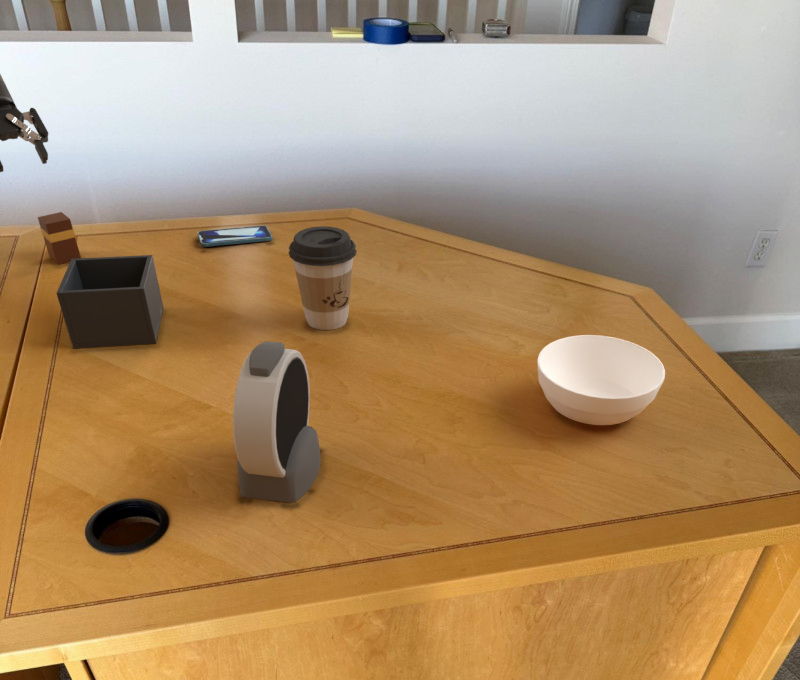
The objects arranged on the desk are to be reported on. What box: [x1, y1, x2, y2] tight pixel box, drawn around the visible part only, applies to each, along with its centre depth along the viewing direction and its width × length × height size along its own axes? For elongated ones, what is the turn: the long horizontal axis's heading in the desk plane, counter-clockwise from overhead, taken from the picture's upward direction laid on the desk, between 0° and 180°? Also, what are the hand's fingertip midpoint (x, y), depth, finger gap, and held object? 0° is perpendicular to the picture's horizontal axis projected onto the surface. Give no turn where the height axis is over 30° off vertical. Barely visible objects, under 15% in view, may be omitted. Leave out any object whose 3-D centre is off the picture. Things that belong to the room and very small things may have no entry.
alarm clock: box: [232, 340, 322, 504], centre depth 98 cm, size 16×10×18 cm, turn 170°
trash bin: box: [55, 254, 164, 350], centre depth 132 cm, size 14×14×10 cm
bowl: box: [536, 334, 666, 426], centre depth 114 cm, size 18×18×7 cm
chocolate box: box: [37, 211, 82, 265], centre depth 154 cm, size 5×5×8 cm
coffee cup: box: [288, 225, 358, 331], centre depth 132 cm, size 11×11×15 cm
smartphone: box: [197, 224, 273, 247], centre depth 164 cm, size 7×1×15 cm
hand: (23, 165), depth 154 cm, fingers open, 8 cm apart
